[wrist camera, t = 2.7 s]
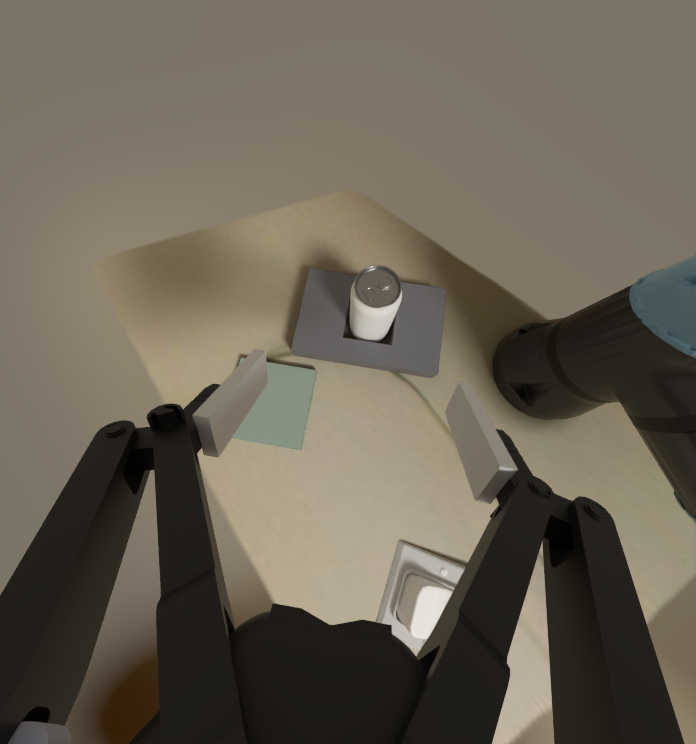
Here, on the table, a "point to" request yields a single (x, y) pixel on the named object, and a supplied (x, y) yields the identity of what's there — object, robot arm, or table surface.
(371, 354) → the block
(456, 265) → the table surface
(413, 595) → the light switch
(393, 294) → the can
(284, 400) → the mat
